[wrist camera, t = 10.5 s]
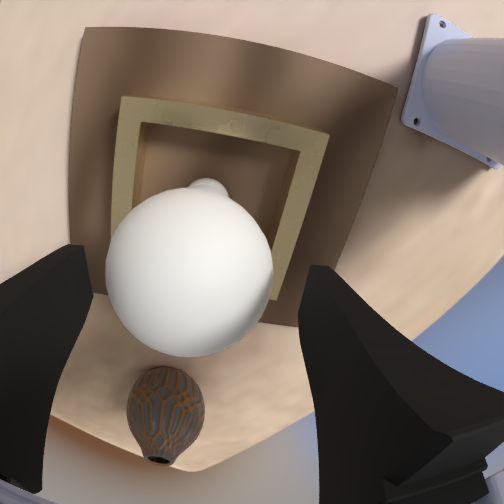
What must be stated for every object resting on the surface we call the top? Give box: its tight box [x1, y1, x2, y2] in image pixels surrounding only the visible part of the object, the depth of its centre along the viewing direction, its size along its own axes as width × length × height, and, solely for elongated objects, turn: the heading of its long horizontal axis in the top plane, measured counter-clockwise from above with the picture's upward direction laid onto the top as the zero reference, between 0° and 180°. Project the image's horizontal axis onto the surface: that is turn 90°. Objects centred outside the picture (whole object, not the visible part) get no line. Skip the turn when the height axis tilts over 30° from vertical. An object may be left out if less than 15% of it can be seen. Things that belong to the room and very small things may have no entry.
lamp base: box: [69, 27, 398, 327], centre depth 19 cm, size 18×18×1 cm
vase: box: [127, 367, 205, 466], centre depth 25 cm, size 7×7×9 cm
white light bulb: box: [105, 178, 274, 357], centre depth 14 cm, size 6×6×11 cm
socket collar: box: [111, 93, 330, 300], centre depth 18 cm, size 10×10×2 cm
